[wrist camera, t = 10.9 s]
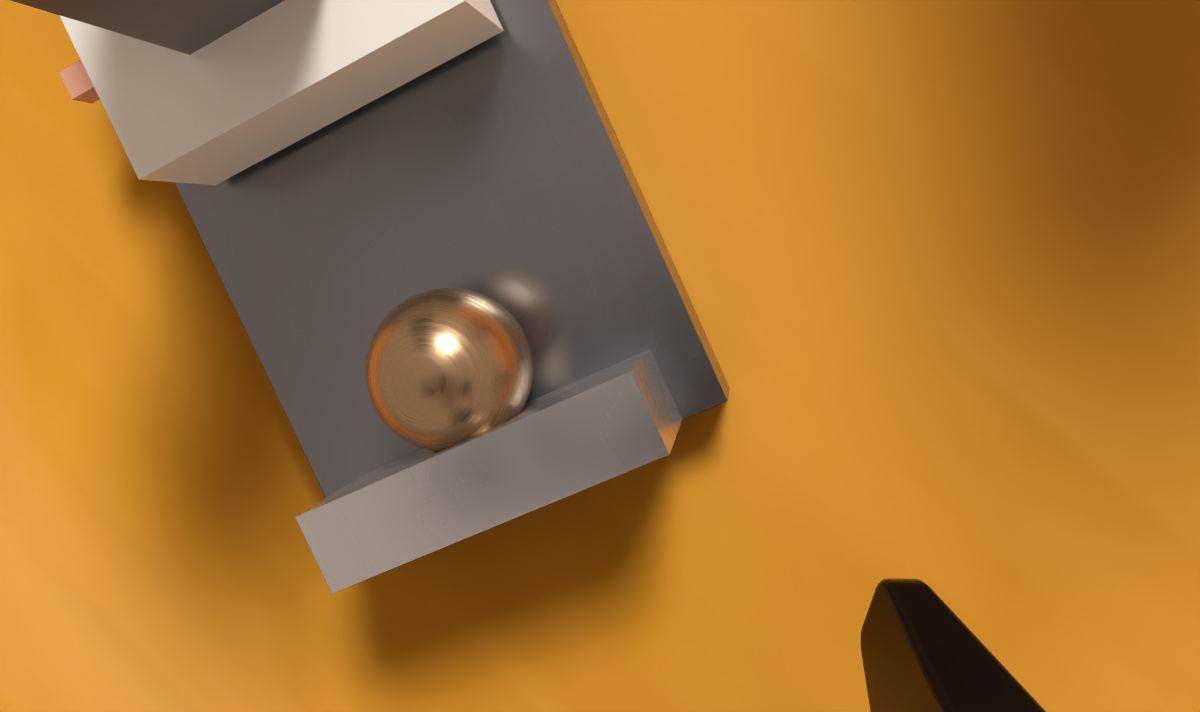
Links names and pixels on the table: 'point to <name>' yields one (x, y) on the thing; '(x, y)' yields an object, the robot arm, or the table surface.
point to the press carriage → (249, 70)
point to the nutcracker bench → (449, 227)
